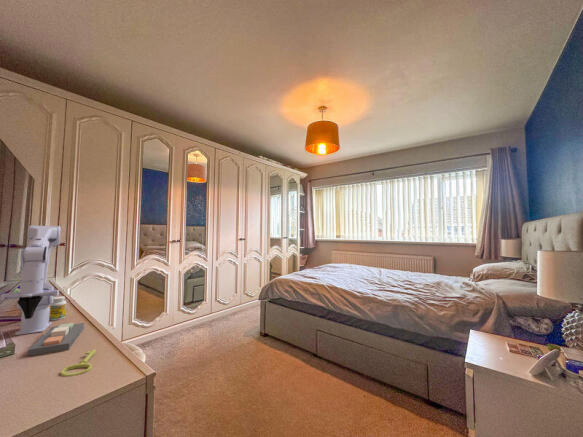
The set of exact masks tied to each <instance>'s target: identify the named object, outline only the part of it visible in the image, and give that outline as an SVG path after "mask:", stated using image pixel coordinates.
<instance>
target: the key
mask: <svg viewBox="0 0 583 437" xmlns="http://www.w3.org/2000/svg"><path fill="white" fill-rule="evenodd" d="M96 352H97V350H96V349H92V350H87V351H86V352H84V355H86V356H85V358H83V359H82V360H80V361H79V362H78V363H75V364H71V365H68V366H66V367H64V368H62V369H61V370H60V376H62V377H74V376H73V375H76V376H79V374H80V375H84V374H86V373H88V372H90V371H91V370H92V367H93V366H92V363H89V362H88V361H89V360H90V359H91V358H92V357H93V356H94V355H95V353H96ZM85 367H87V368H86V369H83V368H85ZM81 368H82V369H83V370H81V371H77V372H71V373H70V372H67V371H71V370H76V369H81ZM70 369H71V370H70ZM85 372H86V373H85Z"/></svg>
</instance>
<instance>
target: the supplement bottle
mask: <svg viewBox="0 0 583 437" xmlns="http://www.w3.org/2000/svg"><path fill="white" fill-rule="evenodd" d="M65 299H66V296H63V295H62V296H54V297H53V303H52V304H51V305H49V308H50V314H49V321H60V320H63V319H65V318H66V314H67V301H66V300H65Z"/></svg>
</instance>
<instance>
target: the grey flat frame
mask: <svg viewBox="0 0 583 437" xmlns="http://www.w3.org/2000/svg"><path fill="white" fill-rule="evenodd" d="M59 326H60V325H57V326H51V327H50V328H49V329H48V330H47V331H46V332H45V333H44V334H43V335H42V336H41V337H40V338H39V339H38V340H37V341H36V342H35V343H34V344H33V345H31V347H29V349H28V352H27V353H28V354H27V357H34V356H39V355H45V354H51V353H57V352H65V351H70V349H71V347H72V346H73V344H74V343H75V342H76V340H77V339H78V338H79V336H80V334H81V333H82V332H83V330H84V329H85V322H81V323H74V327H73V328H72V329H70V330H69V333H68V334H67V335H66V336H63V340H62V342H61V343H59V344H53V345H46V346H43V342H44V341H45V340H46V339H47V338H49V337H51V332H52V331H53V330H54V329H55V328H58V327H59Z"/></svg>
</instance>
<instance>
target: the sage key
mask: <svg viewBox="0 0 583 437" xmlns="http://www.w3.org/2000/svg"><path fill="white" fill-rule="evenodd" d="M74 324H75V322H70V323H62V324H60V325H58V326H59V327H58V328H60V327H67V326H69V330H70V329H72V328H73V327H74Z"/></svg>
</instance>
